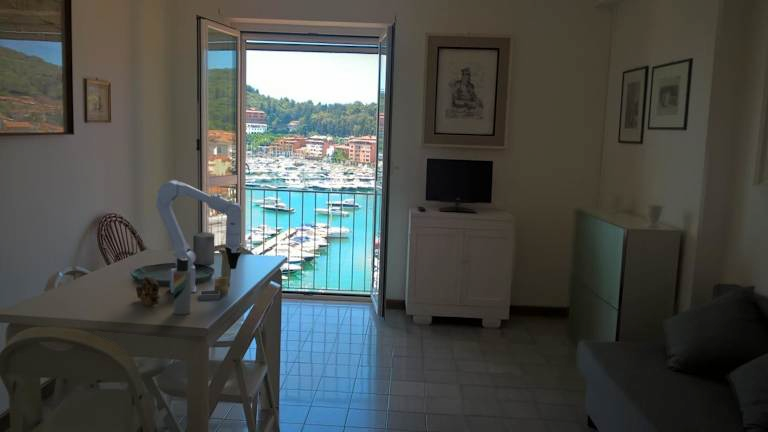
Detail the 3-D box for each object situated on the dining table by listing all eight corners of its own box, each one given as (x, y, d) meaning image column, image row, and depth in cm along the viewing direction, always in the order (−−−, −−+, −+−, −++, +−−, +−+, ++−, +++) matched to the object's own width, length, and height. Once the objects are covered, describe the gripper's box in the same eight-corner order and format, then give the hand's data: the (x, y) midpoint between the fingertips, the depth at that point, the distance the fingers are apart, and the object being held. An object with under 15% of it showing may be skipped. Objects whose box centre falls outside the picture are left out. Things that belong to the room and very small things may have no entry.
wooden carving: (131, 300, 227) (131, 274, 226) (143, 298, 230) (143, 272, 229) (152, 311, 216) (152, 284, 215) (164, 309, 219) (164, 282, 218)
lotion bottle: (184, 309, 220) (185, 254, 217) (193, 312, 217) (194, 257, 214) (170, 312, 216) (170, 257, 213) (179, 316, 213) (179, 260, 210)
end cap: (199, 299, 232) (199, 294, 232) (199, 295, 237) (199, 290, 237) (220, 299, 235) (220, 294, 234) (219, 295, 240) (219, 290, 239)
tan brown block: (214, 293, 241) (214, 279, 240) (214, 291, 244) (214, 277, 243) (227, 293, 243) (228, 278, 242) (227, 291, 246) (227, 276, 245)
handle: (228, 286, 252) (229, 251, 250) (215, 284, 254) (216, 249, 252) (235, 284, 257) (236, 249, 254) (222, 282, 259) (223, 247, 257)
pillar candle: (193, 260, 294) (193, 229, 292) (214, 259, 297) (214, 229, 294) (193, 265, 285) (193, 233, 282) (214, 264, 288) (215, 233, 285)
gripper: (245, 236, 237) (244, 270, 239) (241, 229, 251) (240, 262, 253) (226, 236, 235) (225, 271, 237) (224, 229, 249) (223, 262, 251)
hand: (232, 266), depth 245 cm, fingers open, 7 cm apart
